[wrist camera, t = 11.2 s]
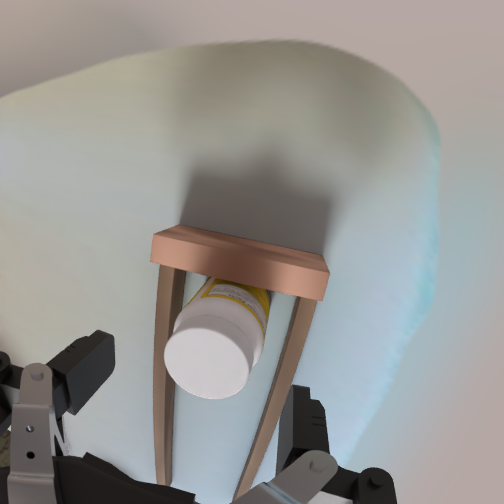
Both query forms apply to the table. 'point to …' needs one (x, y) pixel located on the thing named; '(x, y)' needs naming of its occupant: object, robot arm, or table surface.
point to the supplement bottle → (218, 338)
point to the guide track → (244, 272)
